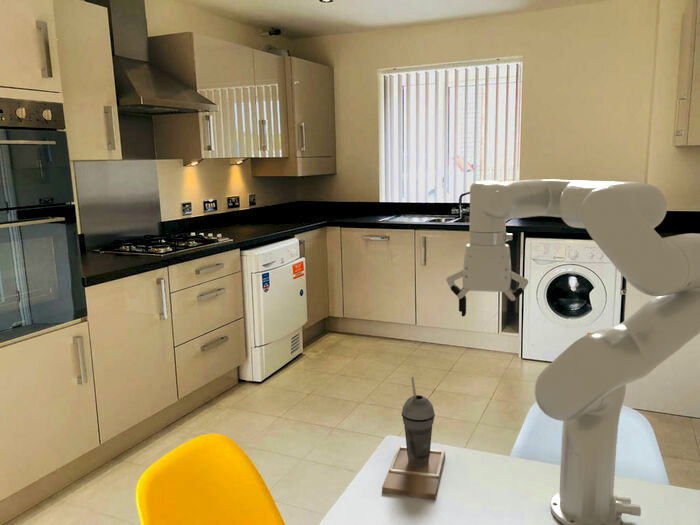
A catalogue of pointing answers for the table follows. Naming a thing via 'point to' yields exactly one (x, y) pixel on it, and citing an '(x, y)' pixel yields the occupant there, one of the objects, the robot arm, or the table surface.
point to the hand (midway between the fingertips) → (486, 315)
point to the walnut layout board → (414, 475)
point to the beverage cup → (418, 428)
